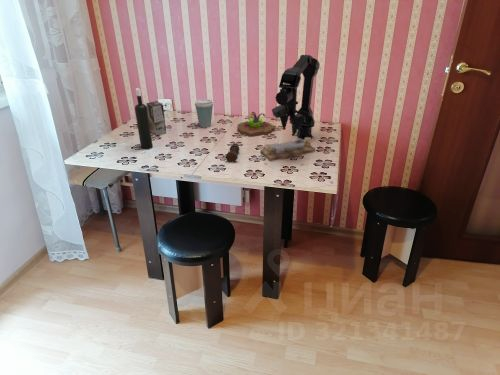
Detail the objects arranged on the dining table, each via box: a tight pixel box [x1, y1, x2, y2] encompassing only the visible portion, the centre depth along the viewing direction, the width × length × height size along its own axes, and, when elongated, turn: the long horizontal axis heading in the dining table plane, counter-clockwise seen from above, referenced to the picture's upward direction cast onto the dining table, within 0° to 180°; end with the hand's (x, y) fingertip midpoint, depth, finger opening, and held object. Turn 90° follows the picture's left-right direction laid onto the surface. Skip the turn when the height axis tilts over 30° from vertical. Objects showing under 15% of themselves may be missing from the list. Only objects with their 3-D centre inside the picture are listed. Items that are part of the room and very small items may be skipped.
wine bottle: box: [134, 87, 154, 150], centre depth 183 cm, size 6×6×30 cm
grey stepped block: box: [270, 139, 305, 155], centre depth 181 cm, size 16×6×3 cm, turn 114°
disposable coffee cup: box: [194, 98, 214, 129], centre depth 213 cm, size 11×11×15 cm
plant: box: [237, 111, 276, 138], centre depth 208 cm, size 20×20×11 cm
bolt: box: [224, 143, 241, 163], centre depth 179 cm, size 6×5×15 cm
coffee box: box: [145, 100, 167, 136], centre depth 205 cm, size 9×6×16 cm
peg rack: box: [260, 137, 316, 162], centre depth 182 cm, size 25×10×6 cm, turn 114°
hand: (288, 131), depth 177 cm, fingers open, 9 cm apart
